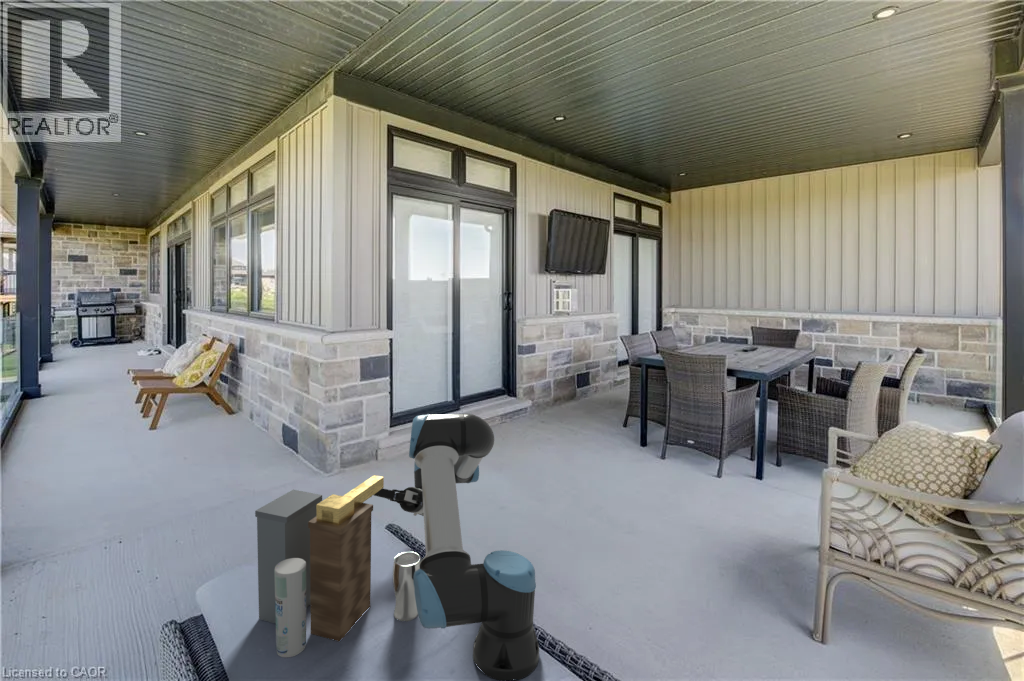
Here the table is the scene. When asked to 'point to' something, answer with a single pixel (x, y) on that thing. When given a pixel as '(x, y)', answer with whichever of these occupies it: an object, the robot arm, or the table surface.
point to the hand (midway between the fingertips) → (384, 491)
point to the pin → (347, 501)
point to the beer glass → (405, 585)
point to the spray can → (290, 606)
